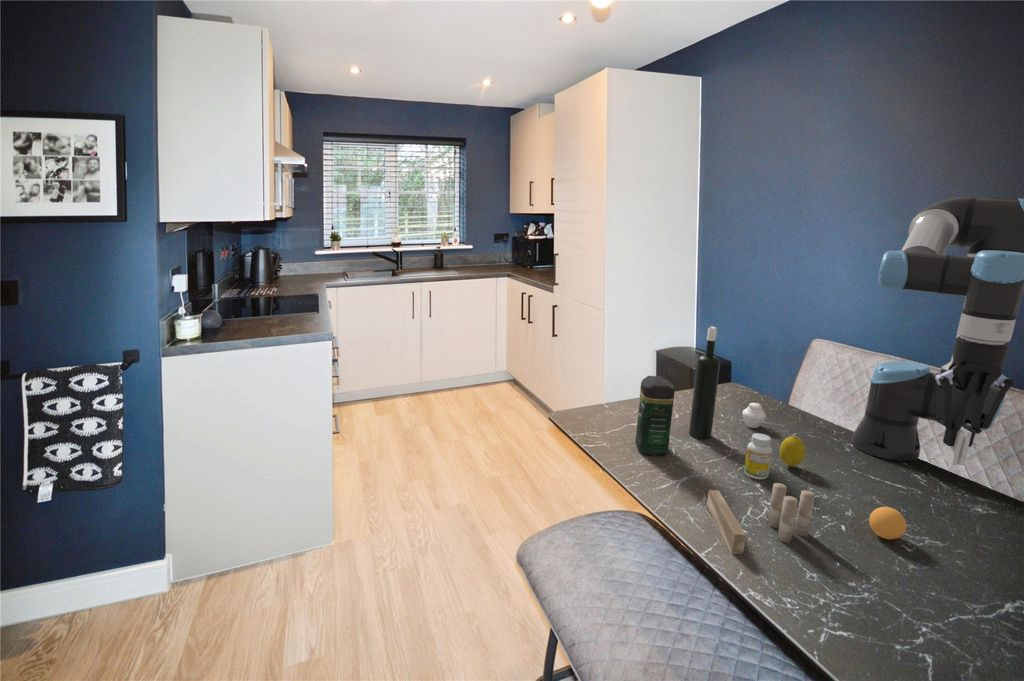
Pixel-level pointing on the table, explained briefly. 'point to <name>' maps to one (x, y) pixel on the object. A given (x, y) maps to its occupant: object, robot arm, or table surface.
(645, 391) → the coffee jar
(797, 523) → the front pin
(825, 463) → the table surface
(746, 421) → the white tapered rounded part
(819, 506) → the table surface
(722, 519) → the back wall
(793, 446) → the lemon
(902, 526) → the ball
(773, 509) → the back pin right
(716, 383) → the wine bottle
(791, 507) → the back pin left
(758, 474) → the supplement bottle
